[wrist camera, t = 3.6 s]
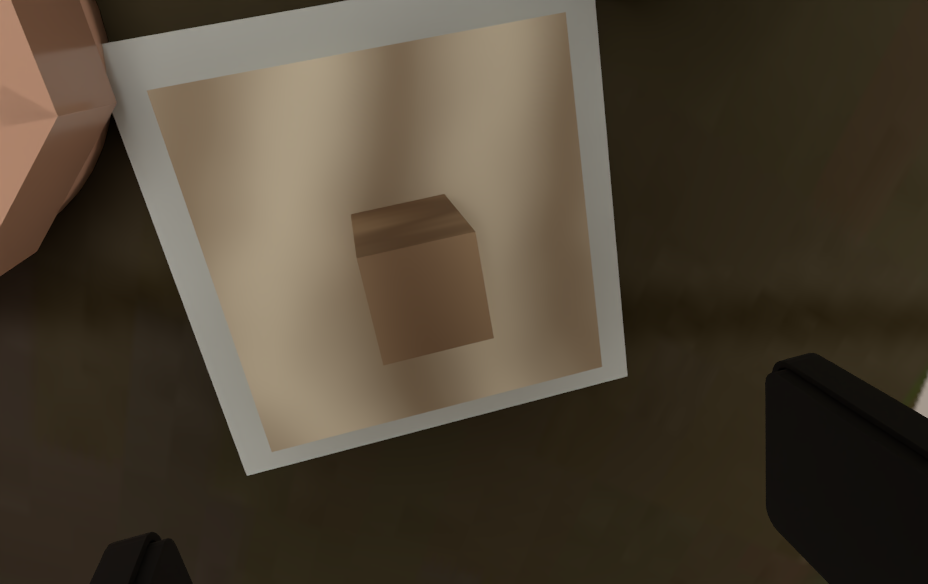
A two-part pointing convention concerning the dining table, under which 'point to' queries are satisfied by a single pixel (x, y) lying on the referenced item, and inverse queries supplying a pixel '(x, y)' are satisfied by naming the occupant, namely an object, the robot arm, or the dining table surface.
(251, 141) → the lid
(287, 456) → the mat
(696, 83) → the dining table surface
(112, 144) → the dining table surface
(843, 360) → the dining table surface
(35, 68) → the bowl
